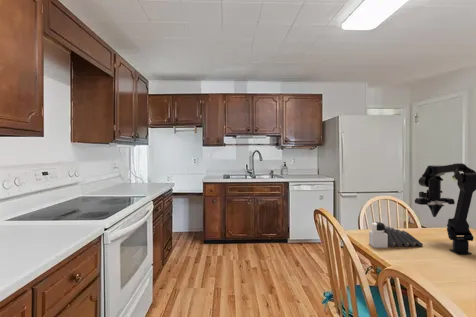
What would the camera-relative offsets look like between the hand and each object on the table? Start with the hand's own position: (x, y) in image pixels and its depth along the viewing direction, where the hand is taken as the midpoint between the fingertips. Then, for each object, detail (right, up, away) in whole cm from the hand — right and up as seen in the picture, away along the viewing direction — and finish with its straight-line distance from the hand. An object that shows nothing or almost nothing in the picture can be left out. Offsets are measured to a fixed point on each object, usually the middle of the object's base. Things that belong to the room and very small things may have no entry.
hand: (434, 216), depth 171 cm
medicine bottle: (-34, -14, -8) cm, 38 cm away
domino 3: (-20, -13, -8) cm, 25 cm away
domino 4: (-16, -13, -8) cm, 22 cm away
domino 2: (-24, -13, -8) cm, 28 cm away
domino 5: (-13, -13, -8) cm, 19 cm away
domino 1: (-28, -13, -8) cm, 32 cm away
